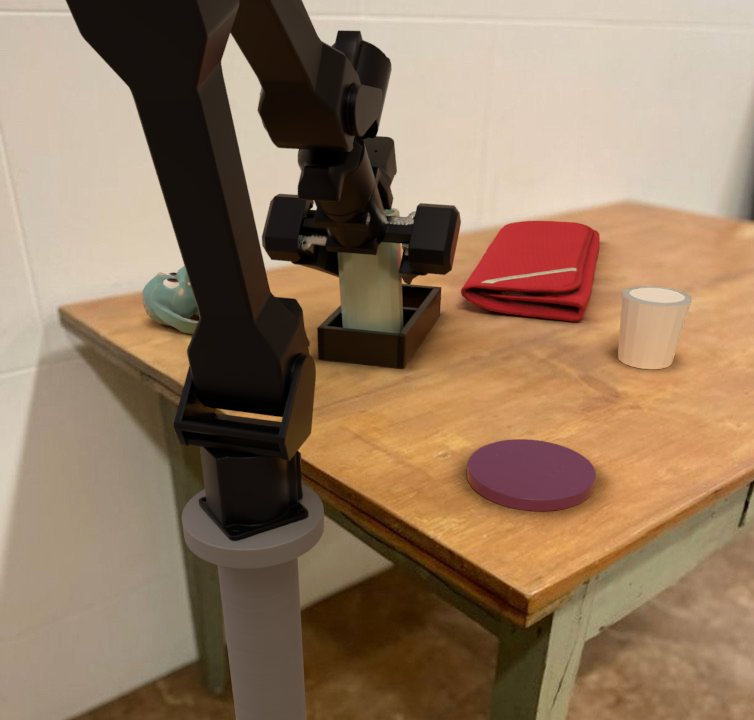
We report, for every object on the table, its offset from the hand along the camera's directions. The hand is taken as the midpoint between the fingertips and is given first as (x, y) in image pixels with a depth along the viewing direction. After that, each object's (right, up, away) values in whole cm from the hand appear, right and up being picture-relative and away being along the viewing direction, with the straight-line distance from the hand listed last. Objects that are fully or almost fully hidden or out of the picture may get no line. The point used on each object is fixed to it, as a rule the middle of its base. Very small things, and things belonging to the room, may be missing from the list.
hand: (376, 276), depth 86 cm
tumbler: (0, -7, +2) cm, 7 cm away
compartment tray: (+1, -5, +6) cm, 8 cm away
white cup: (+29, -9, +1) cm, 30 cm away
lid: (+12, -23, -22) cm, 34 cm away
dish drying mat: (+23, +9, +29) cm, 38 cm away
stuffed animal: (-21, -3, +9) cm, 23 cm away
